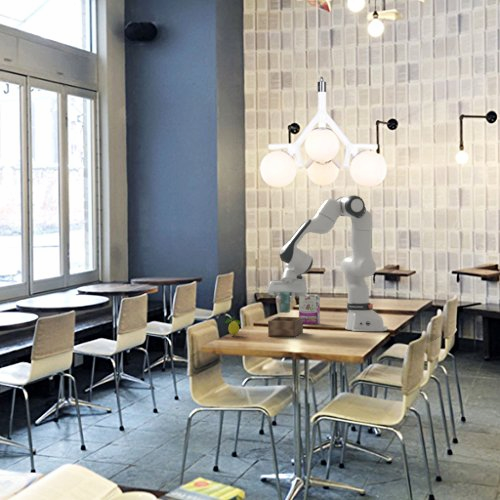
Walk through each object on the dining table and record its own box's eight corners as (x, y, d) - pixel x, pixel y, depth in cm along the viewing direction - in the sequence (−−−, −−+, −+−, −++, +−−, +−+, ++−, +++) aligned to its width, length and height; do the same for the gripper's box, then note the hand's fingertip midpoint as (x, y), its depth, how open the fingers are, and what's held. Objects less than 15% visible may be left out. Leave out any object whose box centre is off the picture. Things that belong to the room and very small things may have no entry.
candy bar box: (320, 323, 451) (320, 294, 450) (317, 324, 447) (317, 295, 446) (301, 322, 455) (301, 294, 455) (298, 323, 451) (298, 294, 450)
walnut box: (302, 332, 418) (302, 317, 417) (295, 337, 402) (295, 321, 401) (277, 331, 422) (276, 316, 422) (268, 336, 406) (268, 320, 405)
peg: (289, 311, 412) (290, 292, 412) (288, 312, 409) (288, 293, 408) (282, 311, 414) (282, 292, 413) (280, 312, 410) (280, 293, 409)
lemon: (225, 336, 408) (224, 316, 408) (230, 334, 414) (230, 315, 413) (236, 337, 405) (236, 317, 405) (242, 335, 410) (241, 316, 410)
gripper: (269, 276, 420) (264, 296, 411) (307, 276, 414) (303, 297, 405) (271, 283, 424) (266, 304, 415) (309, 284, 419) (305, 305, 410)
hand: (285, 300), depth 410 cm, fingers closed on peg, 4 cm apart
